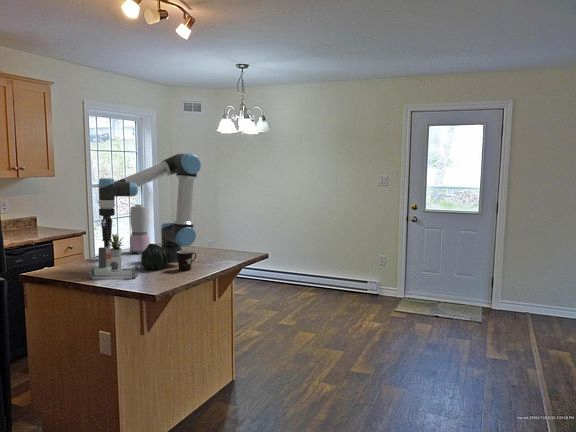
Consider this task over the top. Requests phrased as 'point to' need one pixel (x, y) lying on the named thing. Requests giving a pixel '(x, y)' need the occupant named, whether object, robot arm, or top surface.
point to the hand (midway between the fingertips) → (107, 252)
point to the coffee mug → (185, 260)
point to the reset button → (108, 255)
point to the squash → (154, 257)
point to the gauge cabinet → (114, 263)
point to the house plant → (115, 246)
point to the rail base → (115, 274)
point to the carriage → (102, 263)
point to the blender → (139, 228)
